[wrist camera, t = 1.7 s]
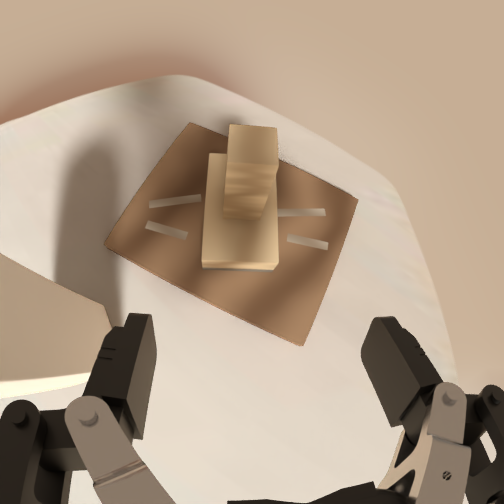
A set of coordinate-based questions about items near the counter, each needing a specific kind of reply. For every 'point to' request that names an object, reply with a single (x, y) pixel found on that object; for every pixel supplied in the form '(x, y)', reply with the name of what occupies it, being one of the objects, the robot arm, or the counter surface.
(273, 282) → the board
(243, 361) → the counter surface
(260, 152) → the block
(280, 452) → the counter surface
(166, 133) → the counter surface
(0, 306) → the milk
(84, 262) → the counter surface
